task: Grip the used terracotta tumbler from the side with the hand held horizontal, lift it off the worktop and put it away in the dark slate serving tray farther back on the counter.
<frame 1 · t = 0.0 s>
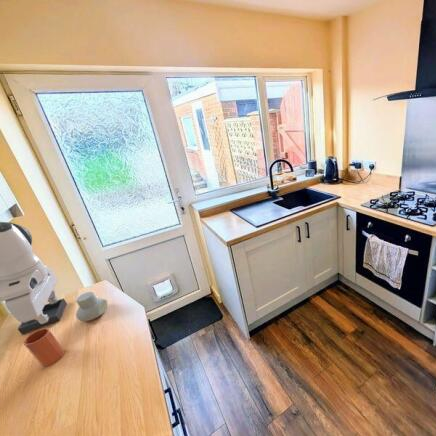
hand: (50, 311, 76), 22 cm above the countertop, tool pointing down, fingers open, 8 cm apart
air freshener: (95, 314, 105), on the countertop
tumbler: (53, 357, 87), on the countertop
tray: (46, 318, 106), on the countertop
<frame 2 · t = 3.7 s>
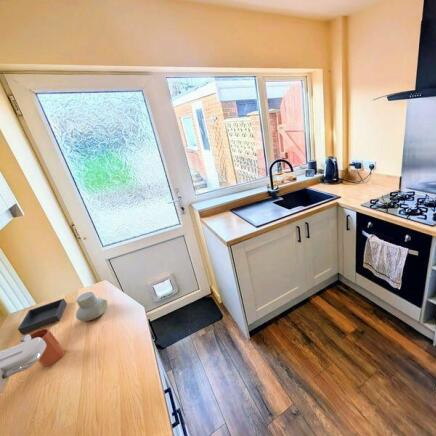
hand: (5, 345, 69), 20 cm above the countertop, tool horizontal, fingers open, 8 cm apart
nothing on the countertop moved.
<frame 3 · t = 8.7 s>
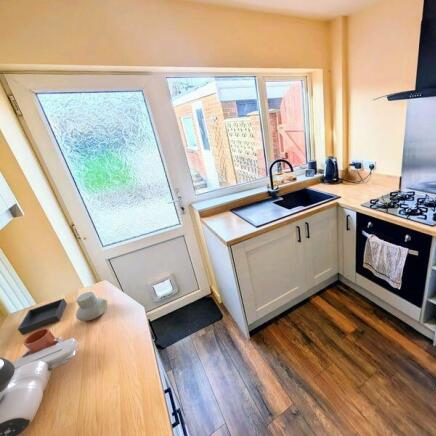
hand: (45, 344, 85), 6 cm above the countertop, tool horizontal, fingers closed on tumbler, 6 cm apart
tumbler: (53, 357, 87), on the countertop, touching gripper
everything else where it was.
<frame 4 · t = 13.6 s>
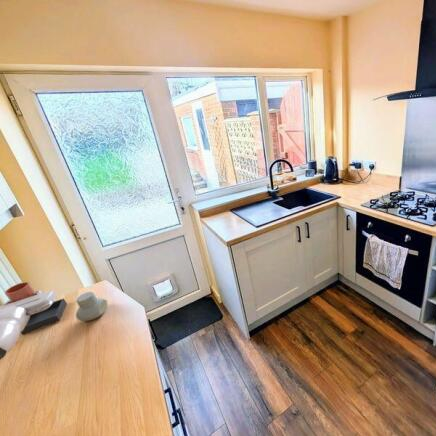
hand: (25, 296, 93), 17 cm above the countertop, tool horizontal, fingers closed on tumbler, 6 cm apart
tumbler: (33, 309, 95), point 11 cm above the countertop, touching gripper
everything else where it was.
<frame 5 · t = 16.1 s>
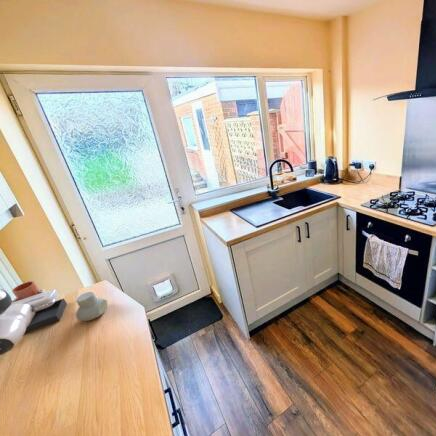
hand: (30, 294, 101), 12 cm above the countertop, tool horizontal, fingers closed on tumbler, 6 cm apart
tumbler: (38, 307, 103), point 7 cm above the countertop, touching gripper
everything else where it was.
when the fingers open (7 cm above the countertop, at t = 18.3 s): tumbler stays where it is, resting on tray.
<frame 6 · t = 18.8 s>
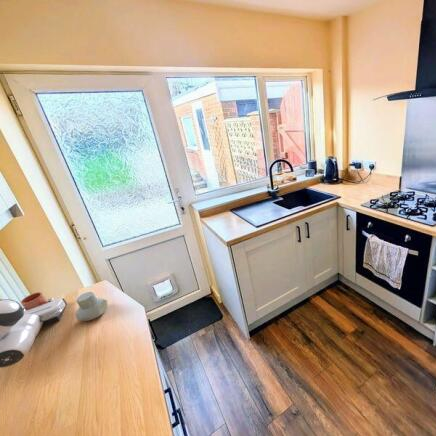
hand: (37, 304, 104), 7 cm above the countertop, tool horizontal, fingers open, 8 cm apart
tumbler: (45, 317, 105), point 1 cm above the countertop, touching tray
everything else where it was.
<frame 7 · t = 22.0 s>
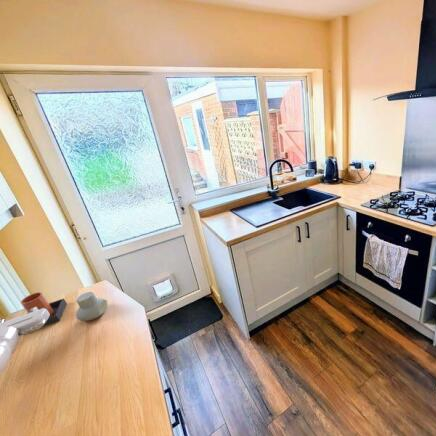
hand: (18, 314, 91), 12 cm above the countertop, tool horizontal, fingers open, 8 cm apart
nothing on the countertop moved.
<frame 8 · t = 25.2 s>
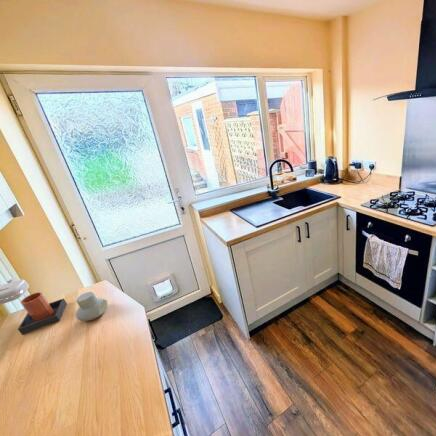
nothing on the countertop moved.
at the end: tumbler inside the target area in the tray (0.2 cm from its centre), point 0.6 cm above the tray's base; tumbler tilted 0°; the gripper is holding nothing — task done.
